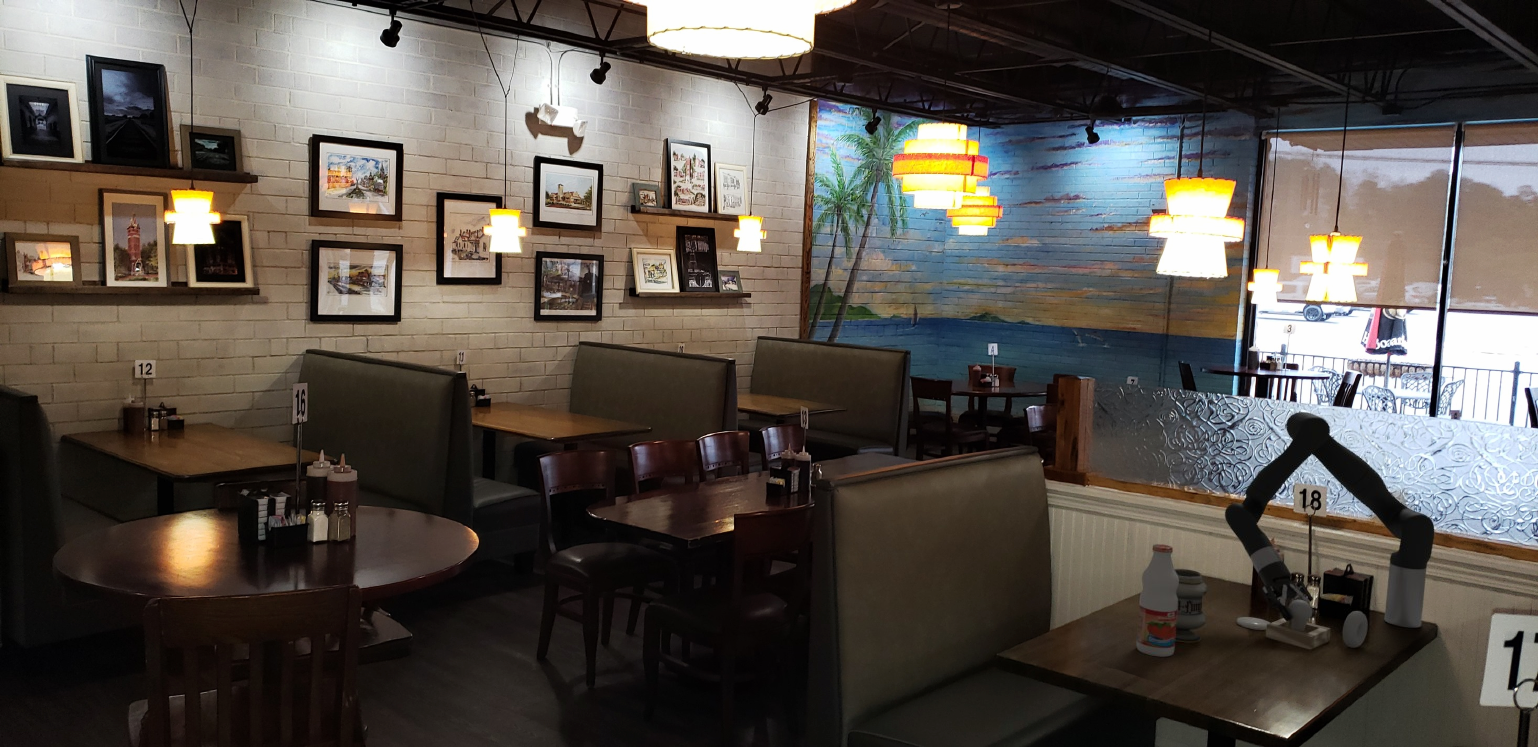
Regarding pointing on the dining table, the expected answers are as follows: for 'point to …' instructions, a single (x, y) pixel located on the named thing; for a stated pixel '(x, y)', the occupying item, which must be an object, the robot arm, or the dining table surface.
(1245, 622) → the white round part
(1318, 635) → the pocket
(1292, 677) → the dining table surface
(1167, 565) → the fruit juice
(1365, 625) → the donut
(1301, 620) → the lightbulb
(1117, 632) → the dining table surface
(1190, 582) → the apothecary jar
